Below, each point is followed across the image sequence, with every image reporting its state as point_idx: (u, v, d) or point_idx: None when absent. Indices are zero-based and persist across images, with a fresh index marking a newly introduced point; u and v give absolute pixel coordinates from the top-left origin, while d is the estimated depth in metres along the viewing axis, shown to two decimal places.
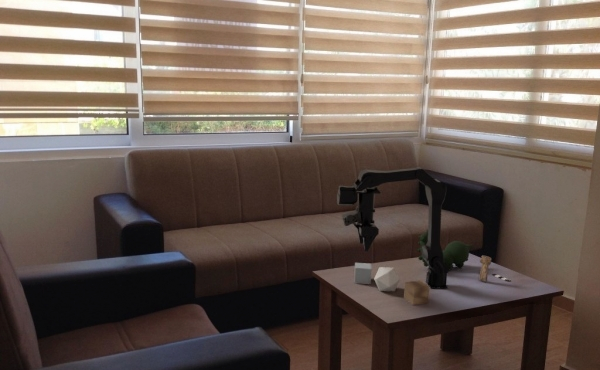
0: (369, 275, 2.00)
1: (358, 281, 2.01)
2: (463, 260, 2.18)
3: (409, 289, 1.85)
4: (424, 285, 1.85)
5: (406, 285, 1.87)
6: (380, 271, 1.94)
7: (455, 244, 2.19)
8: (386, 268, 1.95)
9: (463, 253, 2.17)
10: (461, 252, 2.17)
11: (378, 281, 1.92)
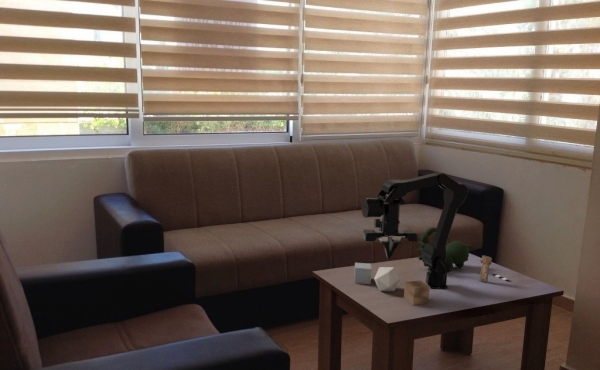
0: (369, 275, 2.00)
1: (358, 281, 2.01)
2: (463, 260, 2.18)
3: (409, 289, 1.85)
4: (424, 285, 1.85)
5: (406, 285, 1.87)
6: (380, 271, 1.94)
7: (455, 244, 2.19)
8: (386, 268, 1.95)
9: (463, 253, 2.17)
10: (461, 252, 2.17)
11: (378, 281, 1.92)
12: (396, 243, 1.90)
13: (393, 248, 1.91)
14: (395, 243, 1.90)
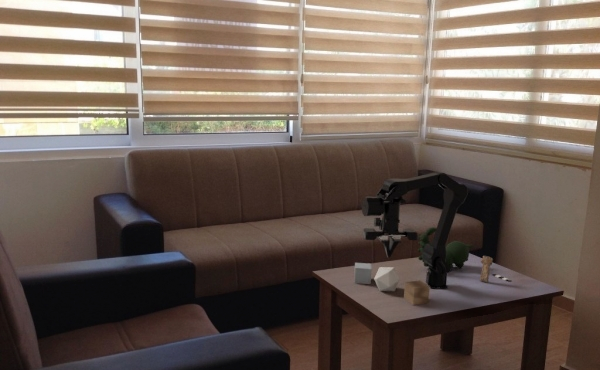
0: (369, 275, 2.00)
1: (358, 281, 2.01)
2: (463, 260, 2.18)
3: (409, 289, 1.85)
4: (424, 285, 1.85)
5: (406, 285, 1.87)
6: (380, 271, 1.94)
7: (455, 244, 2.19)
8: (386, 268, 1.95)
9: (463, 253, 2.17)
10: (461, 252, 2.17)
11: (378, 281, 1.92)
12: (396, 242, 1.90)
13: (393, 247, 1.91)
14: (395, 242, 1.90)
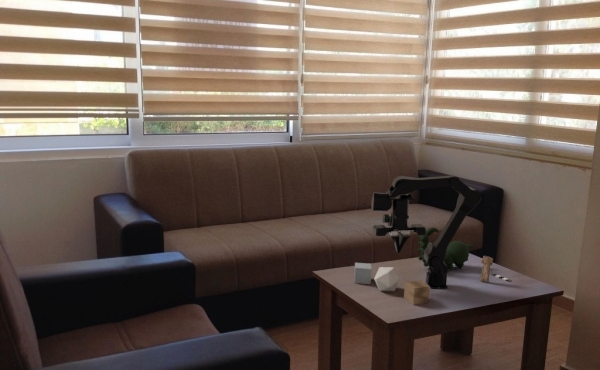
0: (369, 275, 2.00)
1: (358, 281, 2.01)
2: (463, 260, 2.18)
3: (409, 289, 1.85)
4: (424, 285, 1.85)
5: (406, 285, 1.87)
6: (380, 271, 1.94)
7: (455, 244, 2.19)
8: (386, 268, 1.95)
9: (463, 253, 2.17)
10: (461, 252, 2.17)
11: (378, 281, 1.92)
12: (406, 237, 1.96)
13: (403, 242, 1.97)
14: (405, 237, 1.96)
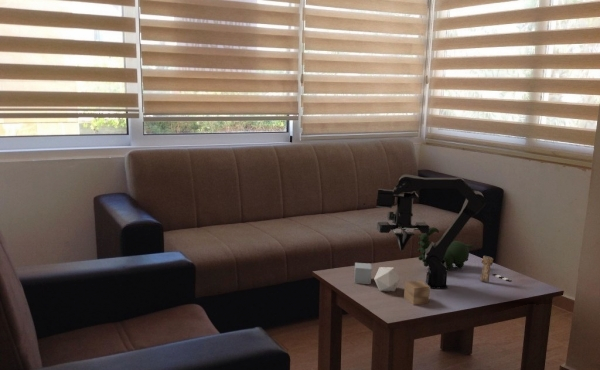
0: (369, 275, 2.00)
1: (358, 281, 2.01)
2: (463, 260, 2.18)
3: (409, 289, 1.85)
4: (424, 285, 1.85)
5: (406, 285, 1.87)
6: (380, 271, 1.94)
7: (455, 244, 2.19)
8: (386, 268, 1.95)
9: (463, 253, 2.17)
10: (461, 252, 2.17)
11: (378, 281, 1.92)
12: (409, 235, 1.98)
13: (406, 239, 1.99)
14: (408, 235, 1.98)
